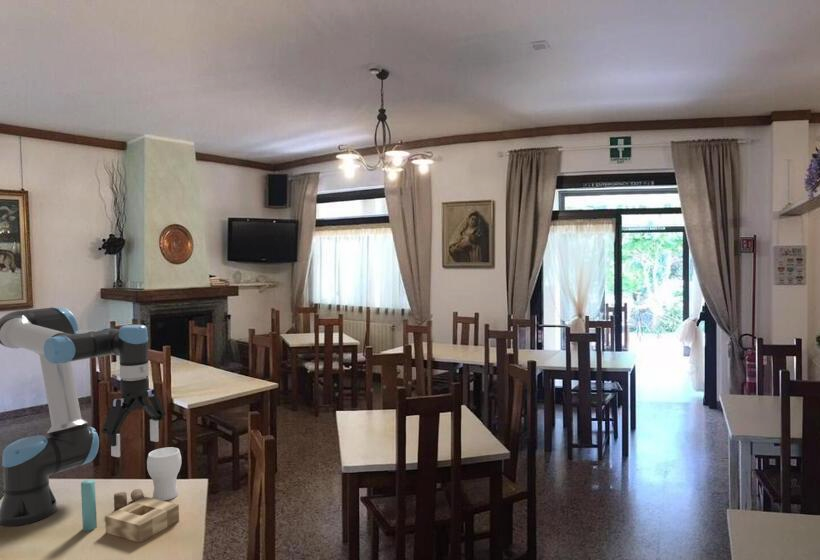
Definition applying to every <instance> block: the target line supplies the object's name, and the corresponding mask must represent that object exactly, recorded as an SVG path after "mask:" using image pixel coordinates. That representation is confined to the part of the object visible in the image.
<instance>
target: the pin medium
mask: <svg viewBox="0 0 820 560" xmlns="http://www.w3.org/2000/svg"><path fill="white" fill-rule="evenodd" d="M144 497H145V495H144V492H143V490H142V489H140V488H135V489H133V490H132V491H131V493H130V499H131V501H132V503H134V502H136V501H138V500H140V499H142V498H144Z"/></svg>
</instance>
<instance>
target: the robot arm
mask: <svg viewBox="0 0 820 560" xmlns="http://www.w3.org/2000/svg"><path fill="white" fill-rule="evenodd" d="M78 331H79V323H78V321H77V318H76V316H75V315H74V313H73V312H72V311H70V309H68V308H66V307H45V308H36V309H35V308H34V309H33V308H32V309H24V310H22V309H21V310H15V311H12V312H9V313H7V314H4V315H3V316H2V317H0V345H1V346H3V347H5V348H10V349H20V348H22V349H25V350H29V351H31V352H34V353H36V354H37V355H38V356H39V361H40V367H41V372H42V378H43V384H44V390H45V394H46V400H47V405H48V406H47V407H48V411H49V418H50V424H51V426H50V428H49V429H48V431H47V436H45V435H41V434H40V435H39V434H37V435H33V436H27V437H23V438H19V439H17V440H14V441H13V442H11V443H9V444H8V445H6V447H5V448H4V449H3V452H2V460H1V466H2V475H3V476H2V477H3V480H2V481H3V496H2V497H3V498H2V500H1V503H0V504H1V505H0V525H2V526H7V527H10V526H11V527H15V526H23V525H28V524H32V523H36V522H39V521H41V520H44V519H46V518H48V517H50V516H51V515H53V514H54V513H55V512H56V511H57V507H58V505H57V499H56V498H55V496H54V494H53V490H52V489H51V487H50V476H51V475H55V474H58V473H61V472H64V471H68V470H71V469H73V468H76V467H77V468H79V467H81V466H83V465H86V464H88V463H90V462H92V461H93V460H94V459H95V458H96V456H97V454H98V452H99V446H100V438H99V435H98V432H97V430H96V429H95V428H94V427H92V426H89V423H88V421H86V420H84V419H83V418H82V415H81V414H82V413H81V409H80V401H79V398H78V392H77V387H76V380H75V375H74V370H73V364H72V362H75V361H81V360H86V359H87V360H88V359H94V358H99V357H104V356H105V357H106V356H111V355H113V356H119V377H120V380H119V384H120V386H119V390H120V392H121V397H120V398H112V399H111V404H110V405H111V406H110V409H109V411H108V414H107V417H106V420H105V422H104V426H103V427H102V430H101V433H102V434H103V435H107V436H108V445H109V446H110V453H111V454H110V455H111V457H115V458H120V457H121V434H120V433H119V431H120V429H121V428H122V426H123V424H124V423H125V421H126V419H127V417H128V416H129V414H130V413H132V411H136V410H137V409H143V410H144V412H146V414H148V415H149V417H150V418H151V419H149V437H150V438H149V439H150V440H149V441H150V442H156V443H157V442H159V440H160V438H159V437H160V434H159V433H160V432H159V431H160V428H161V420H163V418H164V417H165V416H166V411H165V409H164V407H163V404H162V403H161V400H160V398H159V397H158V392H157V389H156V388H150V387H149V386H150V381H149V377H148V375H149V335H148V327H147V326H146V325H144V324H125V325H122V326H120V327H119V329H117V328H114V327H110V328H108V327H105V328H101V329H99V330H97V331H90V332H83V333H79V332H78ZM147 399H149V400H147Z"/></svg>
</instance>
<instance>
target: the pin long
mask: <svg viewBox="0 0 820 560" xmlns="http://www.w3.org/2000/svg"><path fill="white" fill-rule="evenodd" d="M80 489H81V490H80V493H81V517H82V531H84V532H90V531H93V530H95V529H97V525H98V523H97V499H96V498H97V497H96V495H97V494H96V480H95V479H87V480H83V481H82V482H81V483H80Z"/></svg>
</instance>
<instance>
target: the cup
mask: <svg viewBox="0 0 820 560" xmlns="http://www.w3.org/2000/svg"><path fill="white" fill-rule="evenodd" d="M181 468H182V455H181V451H180V449H179V448H178V447H173V446H171V447H169V446H168V447H161V448H157V449H156V448H155V449H154V450H152V451H150V452H149V453H148V454H147V459H146V469H147V472H148V475H149V476H150V479H152V481H153V484H152V485H153V493H152V498H153V499H157V500H161V501H165V502H166V501H169V500H172V499H174V498H176V497H177V496H178V495H179V493H178V487H177V477H178V474H179V472H180V470H181Z"/></svg>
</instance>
